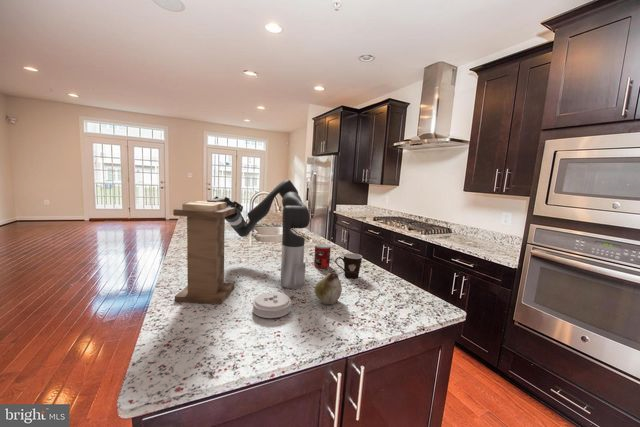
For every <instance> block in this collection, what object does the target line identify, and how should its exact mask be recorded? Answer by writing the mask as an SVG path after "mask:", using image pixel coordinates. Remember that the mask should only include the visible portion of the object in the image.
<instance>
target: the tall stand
mask: <svg viewBox="0 0 640 427" xmlns="http://www.w3.org/2000/svg"><path fill="white" fill-rule="evenodd" d="M234 213H235V208H231V207H227V208H224V209H220V210H217V211H214V212H207V211H190V210H182V207H180V208H175V209H173V210H172V214H173V216H174V217H179V216H180V217H186V242H187V243H186V247H187V248H186V249H187V250H186V252H187V253H186V255H187V256H186V257H187V258H186V259H187V260H186V261H187V264H186V265H187V274H186V275H187V278H186V279H187V286H185V287H184V288H183V289H182V290H181V291H179V293H177V294H176V295H174V302H175V303H188V304H204V305H205V304H206V305H207V304H209V305H222V304H223V303H224V302H225V300H226V299H227V297H229V295H230V294H231V293H232V291H233V290H234V289H235V283H234V282H225V229H226V228H225V221H226V220H225V217H227V216H229V215H231V214H234ZM223 301H224V302H223Z"/></svg>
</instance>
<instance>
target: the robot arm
mask: <svg viewBox="0 0 640 427" xmlns="http://www.w3.org/2000/svg"><path fill="white" fill-rule="evenodd" d="M278 195H280V197H281V198H282V199H281V200H282V202H281V203H282V208H283V209H282V215H281V216H282V239H281V257H280V258H281V261H280V262H281V264H280V265H281V266H280V286H281V287H283V288H287V289H294V290H297V289H299V288H301V287H303V286H304V285H305V284H306V283H305V280H306V262H304V261H305V260H304V259H305V242H306V241H305V238H304V237H303V236H301V235H298V234H296V233H295V232H293V231H292V230H291V229H306V228H307V227H308V226H309V225H310V221H311V216H310V212H309V209H308V207H307V206H306V205H305V204H304V202H303V200H302V198H301V196H300V195H299V191H298V189H297V188H296V187H295V184H293V182H292V181H291V180H290V179H288V178H287V179H284V180H283V181H281V182H279V184H277V185H276V187H274V188H273V190H271V192H269V193H268V195H267V196H266V197H264V198H263V200H261V201H260V203H259V204H257V205H256V206H255V207H253V208H252V209H251V210H250V211H249V212H247V215H246V216H247V217H248V220H249V222H248V223H247V221H246V220H245V218H244V217H243V215H242V213H243V209H244V206H243V205H242V204H240V203H239V202H237V201H235V200H234V201H232V200H231V199H230V197H227V196H225V197H224V198H225V199H224V202H227V207H231V208H235V213H234V214H231V215H229V216H227V217H225V221H226V223H228V224H229V225H230V226H231V228H232V229H233V231H235V232H236V233H237V234H238V236H240V237H242V238H244V237H247V236H249V234H250V233H251V232H252V230H253V229H254V227H255V226H256V225H257V223H259V222H260V221H261V220H262V219H264V218H265V217H266V216H267V215H268V214H269V213H270V210H271V207H272V206H273V203H274V199H275V198H276V197H277V196H278ZM217 198H219V196H215V197H214V198H213V199H217Z"/></svg>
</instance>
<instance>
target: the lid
mask: <svg viewBox="0 0 640 427" xmlns="http://www.w3.org/2000/svg"><path fill="white" fill-rule="evenodd" d="M291 304H292V299H291V298H290V297H289V296H288V295H286V294H284V293H282V292H279V291H278V292H277V291H269V292H263V293H260V294H259V295H257V296H255V297H254V298H253V300H252V305H253V306H252V312H253V314H254V315H256V316H258V317H260V318H265V319H276V318H277V319H278V318H281V317H283V316H286V315H287V314H289V313H290V311H291V309H292V307H291Z"/></svg>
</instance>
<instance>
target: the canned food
mask: <svg viewBox="0 0 640 427" xmlns="http://www.w3.org/2000/svg"><path fill="white" fill-rule="evenodd" d="M331 249H332V248H331V244H327V243H316V244H314V256H313V257H314V259H313V260H314V261H313V265H314V267H315V268H318V269H327V268H329V267H330V263H331V262H330V259H331Z"/></svg>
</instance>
